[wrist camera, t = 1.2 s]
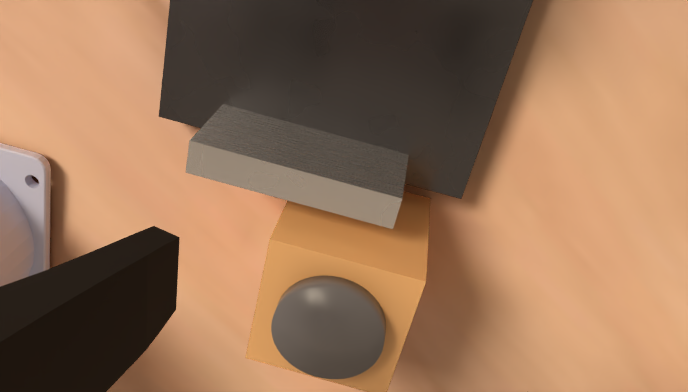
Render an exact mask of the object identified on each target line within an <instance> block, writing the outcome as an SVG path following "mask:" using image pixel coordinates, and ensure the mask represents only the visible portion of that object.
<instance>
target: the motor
mask: <svg viewBox="0 0 688 392" xmlns="http://www.w3.org/2000/svg"><path fill="white" fill-rule="evenodd" d="M532 2H533V0H170V8H169V18H168V28H167V39H166V49H165V59H164V69H163V79H162V90H161V100H160V110H159V117H162V118H166V119H170V120H173V121H177V122H181V123H184V124H188V125H192V126H195V127H199V128H201V129H200V130H199V131H198V132H197V133H196V134H195V135H194V136H193V137H192V139H191V140H190V141H189V149H188V157H187V165H186V173H189V174H193V175H196V176H200V177H204V178H207V179H211V180H215V181H218V182H222V183H226V184H229V185H233V186H237V187H240V188H244V189H248V190H251V191H255V192H258V193H262V194H266V195H269V196H273V197H277V198H280V199H284V200H288V201H291V202H295V203H299V204H302V205H306V206H310V207H313V208H317V209H321V210H324V211H328V212H332V213H335V214H339V215H342V216H346V217H350V218H353V219H357V220H361V221H364V222H368V223H372V224H375V225H379V226H383V227H386V228H390V229H393V227H394V224H395V221H396V218H397V215H398V211H399V208H400V205H401V202H402V198H403V191H404V184H408V185H412V186H416V187H419V188H423V189H427V190H431V191H434V192H438V193H442V194H445V195H449V196H453V197H456V198H460V199H461V198H462V195H463V193H464V190H465V187H466V184H467V181H468V179H469V176H470V173H471V170H472V168H473V165H474V162H475V159H476V157H477V154H478V151H479V148H480V145H481V143H482V140H483V137H484V134H485V132H486V129H487V126H488V123H489V121H490V118H491V115H492V112H493V109H494V107H495V104H496V101H497V98H498V96H499V93H500V90H501V87H502V85H503V82H504V79H505V76H506V73H507V71H508V68H509V65H510V62H511V60H512V57H513V54H514V51H515V49H516V46H517V43H518V40H519V37H520V35H521V32H522V29H523V26H524V24H525V21H526V18H527V15H528V13H529V10H530V7H531V4H532Z"/></svg>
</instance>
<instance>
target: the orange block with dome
mask: <svg viewBox="0 0 688 392" xmlns="http://www.w3.org/2000/svg"><path fill="white" fill-rule="evenodd" d="M430 199H431V198H427V197H423V196H420V195H416V194H412V193H409V192H405V191H403V198H402V202H401V205H400V208H399V211H398V215H397V218H396V221H395V224H394V227H393V229H390V228H386V227H383V226H379V225H375V224H372V223H368V222H364V221H361V220H357V219H353V218H350V217H346V216H342V215H339V214H335V213H332V212H328V211H324V210H321V209H317V208H313V207H310V206H306V205H302V204H299V203H295V202H291V201H287V203H286V205H285V208H284V210H283V212H282V214H281V216H280V218H279V220H278V223H277V225H276V227H275V229H274V231H273V233H272V235H271V238H270V240H269V245H268V250H267V255H266V260H265V265H264V270H263V275H262V279H261V284H260V289H259V294H258V299H257V304H256V309H255V313H254V318H253V323H252V328H251V333H250V338H249V343H248V347H247V352H246V357H245V358H247V359H251V360H255V361H258V362H262V363H266V364H269V365H273V366H276V367H280V368H284V369H287V370H291V371H294V372H298V373H302V374H305V375H309V376H312V377H316V378H320V379H323V380H327V381H331V382H334V383H338V384H341V385H345V386H349V387H352V388H356V389H359V390H363V391H367V392H387V390H388V387H389V385H390V382H391V379H392V376H393V373H394V371H395V368H396V365H397V362H398V359H399V356H400V354H401V351H402V348H403V345H404V342H405V340H406V337H407V334H408V331H409V328H410V326H411V323H412V320H413V317H414V314H415V311H416V309H417V306H418V303H419V300H420V297H421V295H422V292H423V289H424V286H425V283H426V274H427V255H428V236H429V217H430Z"/></svg>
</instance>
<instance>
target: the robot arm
mask: <svg viewBox="0 0 688 392" xmlns="http://www.w3.org/2000/svg"><path fill="white" fill-rule="evenodd" d="M31 175H33V176H35V177H36V178H37V179H38V181H39V183H37V182H35V181H34V180H33V179H32V177H31ZM50 193H51V167H50V164H49V162H48V160H47V159H46V158H45V157H44V156H43V155H41V154H38V153H35V152H32V151H28V150H25V149H21V148H17V147H14V146H10V145H6V144H3V143H0V392H106V391H107V390H108V389H109V388H110V387H111V386H112V385H113V384H114V383H115V382H116V381H117V380H118V379H119V378H120V377H121V376H122V375H123V374H124V373H125V372H126V370H127V369H128V368H129V367H130V366H131V365H132V364H133V363H134V362H135V361H136V360H137V359H138V358H139V357H140V356H141V355H142V354H143V352H144V351H145V350H146V349H147V348H148V347H149V345H150V344H151V343H152V341H153V340H154V339H155V337H156V336H157V335H158V334H159V332H160V331H161V330H162V328H163V327H164V325H165V324H166V323H167V321H168V320H169V318H170V317H171V316H172V314H173V313H174V312H175V310H176V297H177V276H178V255H179V237H177V236H175V235H173V234H171V233H168V232H166V231H164V230H162V229H159V228H157V227H155V226H153V227H150V228H148V229H145V230H143V231H140V232H138V233H135V234H133V235H131V236H128V237H126V238H123V239H121V240H119V241H116V242H114V243H112V244H109V245H107V246H105V247H102V248H100V249H97V250H95V251H93V252H90V253H88V254H85V255H83V256H80V257H78V258H75V259H73V260H71V261H68V262H66V263H63V264H61V265H58V266H56V267H53V268H51V269H50Z"/></svg>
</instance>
